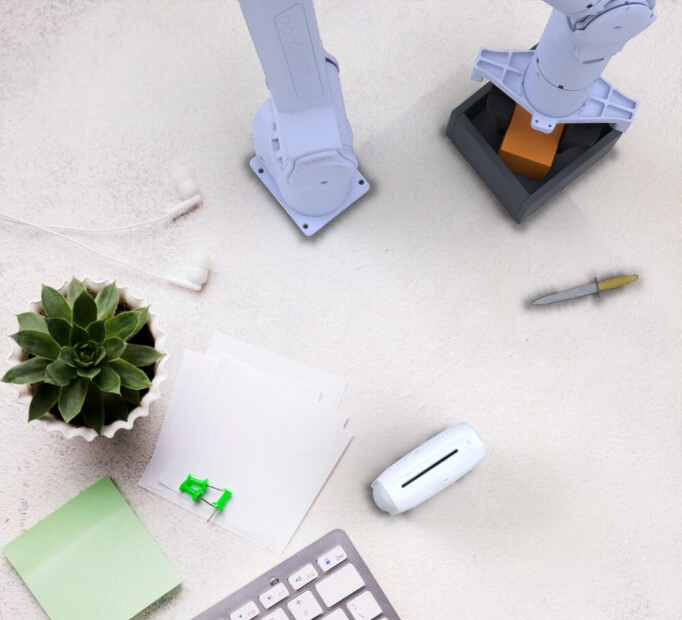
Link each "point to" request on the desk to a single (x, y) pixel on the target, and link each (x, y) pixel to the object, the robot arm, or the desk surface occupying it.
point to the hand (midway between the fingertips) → (531, 133)
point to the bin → (508, 186)
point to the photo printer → (428, 469)
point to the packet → (528, 145)
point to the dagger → (588, 289)
